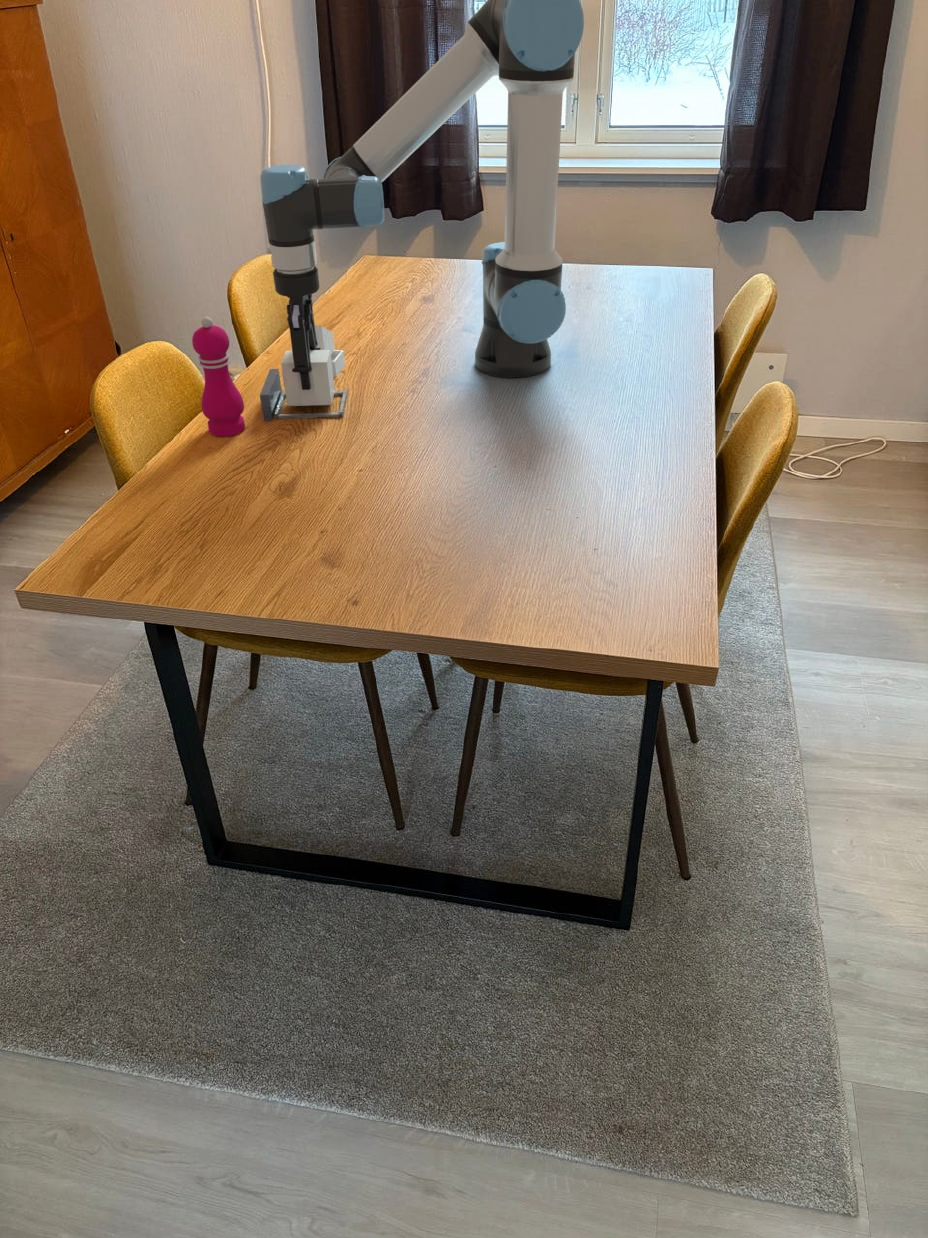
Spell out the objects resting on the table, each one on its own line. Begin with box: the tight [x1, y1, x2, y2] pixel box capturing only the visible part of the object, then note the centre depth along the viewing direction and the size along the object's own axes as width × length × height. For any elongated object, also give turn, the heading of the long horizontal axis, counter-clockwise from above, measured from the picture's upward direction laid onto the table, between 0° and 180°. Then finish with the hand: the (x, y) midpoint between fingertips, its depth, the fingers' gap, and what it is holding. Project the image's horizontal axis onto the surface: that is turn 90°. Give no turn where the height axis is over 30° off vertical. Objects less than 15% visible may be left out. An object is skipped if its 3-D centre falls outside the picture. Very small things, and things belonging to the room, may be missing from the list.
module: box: [280, 350, 336, 407], centre depth 170 cm, size 8×6×8 cm
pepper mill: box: [191, 316, 246, 438], centre depth 160 cm, size 7×7×20 cm
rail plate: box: [259, 368, 349, 422], centre depth 171 cm, size 14×12×5 cm
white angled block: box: [315, 325, 346, 378], centre depth 184 cm, size 4×10×9 cm, turn 169°
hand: (311, 396), depth 172 cm, fingers closed on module, 6 cm apart
